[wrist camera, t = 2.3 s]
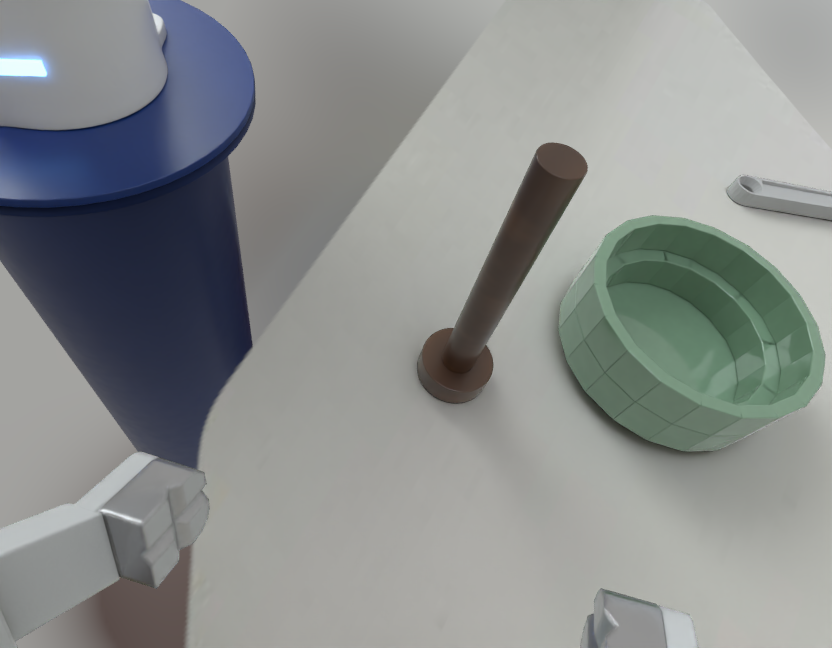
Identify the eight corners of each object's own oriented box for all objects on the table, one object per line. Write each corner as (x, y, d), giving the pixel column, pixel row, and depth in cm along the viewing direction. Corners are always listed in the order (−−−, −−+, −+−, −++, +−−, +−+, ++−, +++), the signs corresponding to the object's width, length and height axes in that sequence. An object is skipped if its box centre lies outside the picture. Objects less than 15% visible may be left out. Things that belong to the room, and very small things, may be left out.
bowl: (520, 372, 34) (559, 321, 29) (594, 241, 42) (634, 183, 37) (732, 502, 32) (812, 471, 27) (767, 338, 40) (834, 291, 35)
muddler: (403, 377, 32) (484, 160, 18) (438, 329, 35) (533, 106, 21) (465, 417, 31) (596, 223, 18) (497, 365, 34) (633, 159, 20)
